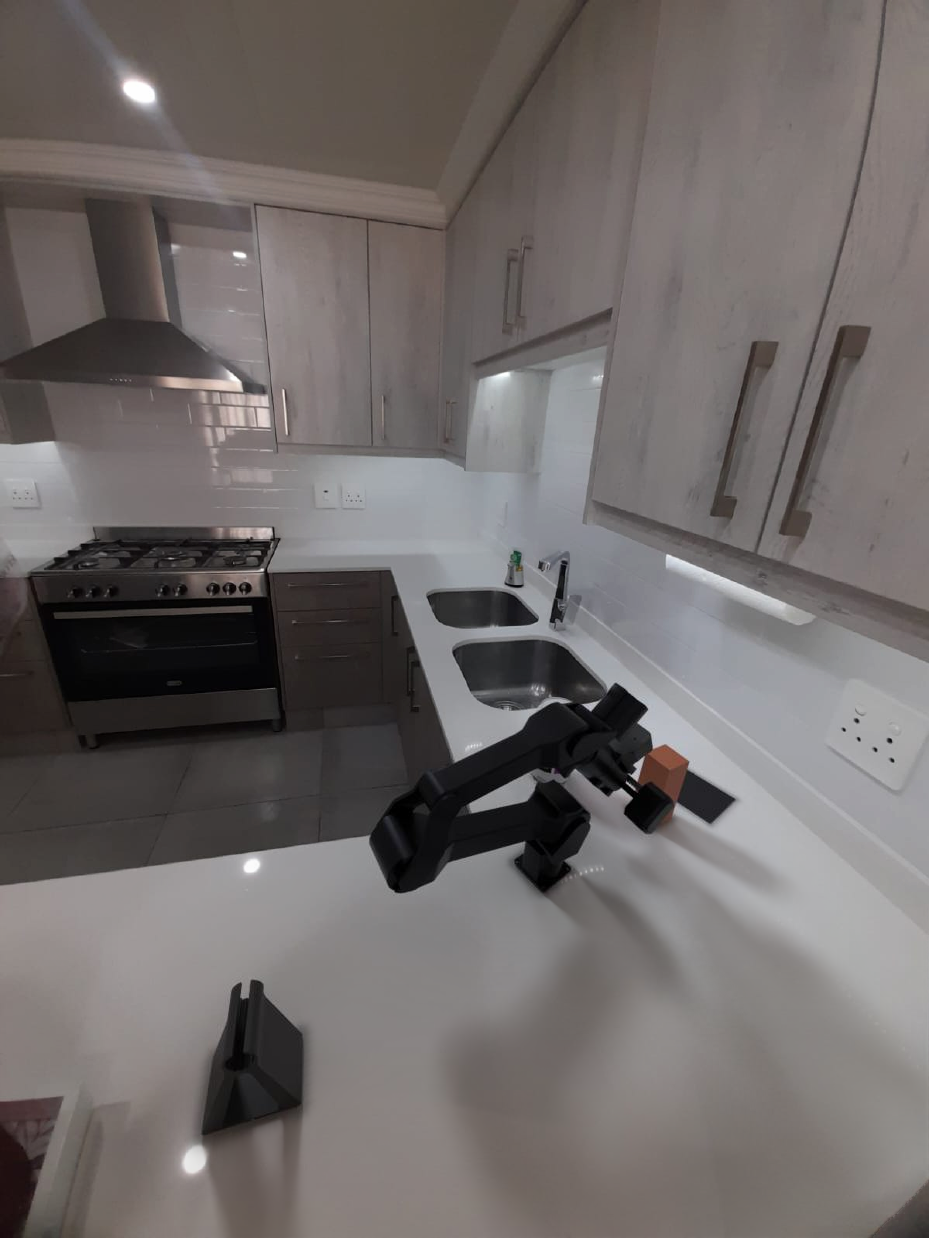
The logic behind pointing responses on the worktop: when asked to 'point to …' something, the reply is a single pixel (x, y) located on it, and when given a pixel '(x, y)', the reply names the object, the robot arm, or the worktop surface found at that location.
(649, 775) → the terracotta block
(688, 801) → the mat
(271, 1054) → the phone stand
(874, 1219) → the worktop surface
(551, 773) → the supplement can
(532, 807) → the robot arm
